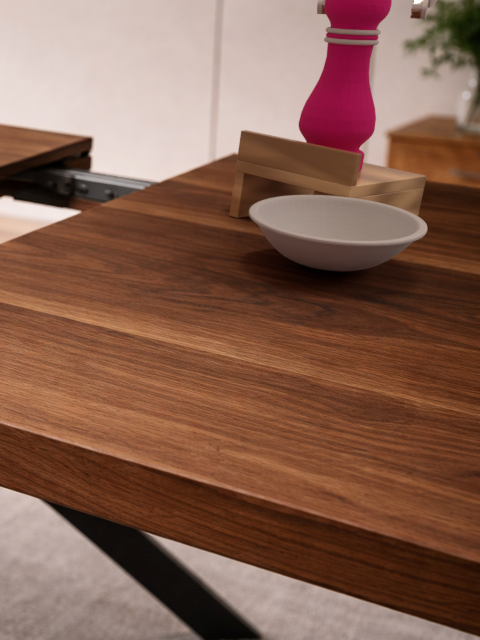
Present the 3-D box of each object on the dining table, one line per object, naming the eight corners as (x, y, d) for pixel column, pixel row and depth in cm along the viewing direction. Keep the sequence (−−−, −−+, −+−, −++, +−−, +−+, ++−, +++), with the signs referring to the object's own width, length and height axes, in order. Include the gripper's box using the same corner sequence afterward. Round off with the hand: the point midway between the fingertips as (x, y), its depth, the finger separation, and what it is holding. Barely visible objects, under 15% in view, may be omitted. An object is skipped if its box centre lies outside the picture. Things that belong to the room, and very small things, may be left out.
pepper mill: (317, 175, 93) (355, -46, 86) (278, 160, 100) (310, -46, 92) (381, 174, 95) (424, -43, 87) (339, 159, 101) (375, -43, 94)
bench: (303, 204, 108) (316, 124, 105) (414, 234, 97) (433, 145, 94) (229, 215, 102) (240, 130, 99) (339, 248, 91) (356, 154, 88)
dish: (405, 316, 73) (418, 254, 71) (219, 284, 79) (227, 225, 78) (423, 261, 88) (434, 208, 86) (265, 237, 94) (272, 187, 92)
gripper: (298, -107, 108) (269, -14, 103) (502, -107, 99) (479, -6, 95) (299, -63, 113) (271, 28, 108) (492, -60, 104) (470, 38, 100)
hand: (370, 12), depth 101 cm, fingers open, 8 cm apart
